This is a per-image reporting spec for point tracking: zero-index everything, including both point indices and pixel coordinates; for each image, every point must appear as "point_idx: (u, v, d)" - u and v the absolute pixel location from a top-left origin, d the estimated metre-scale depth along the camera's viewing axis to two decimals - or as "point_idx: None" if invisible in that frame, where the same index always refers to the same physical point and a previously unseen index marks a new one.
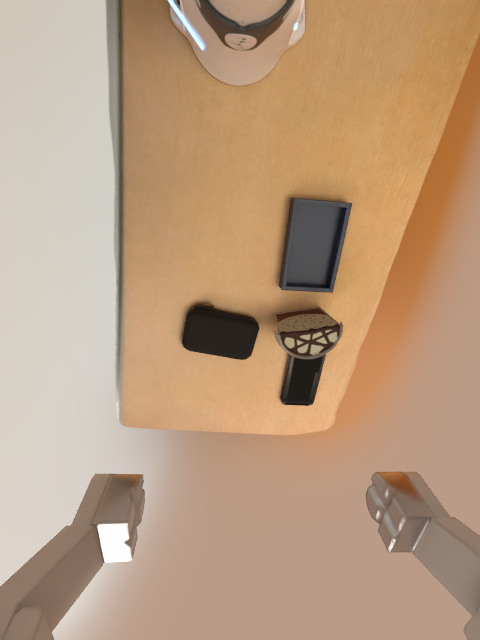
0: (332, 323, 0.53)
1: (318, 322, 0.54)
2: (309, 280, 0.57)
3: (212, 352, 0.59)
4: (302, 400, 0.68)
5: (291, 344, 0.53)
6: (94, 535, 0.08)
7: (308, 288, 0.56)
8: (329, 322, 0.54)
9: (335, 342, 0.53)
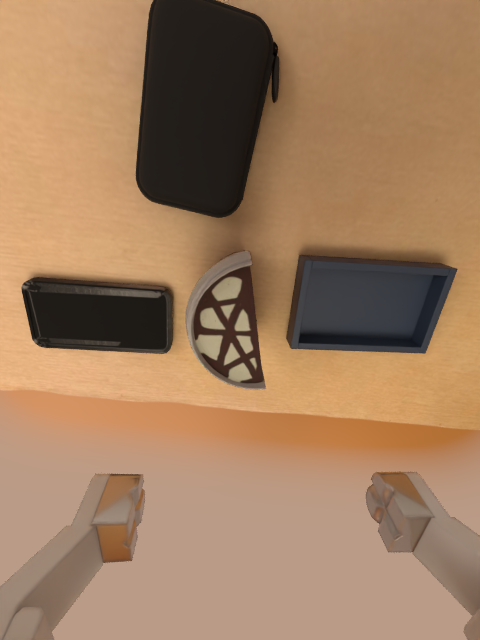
0: None
1: None
2: (306, 307, 0.33)
3: (154, 87, 0.22)
4: (43, 324, 0.32)
5: (222, 293, 0.23)
6: (94, 535, 0.08)
7: (302, 308, 0.31)
8: None
9: (229, 380, 0.26)
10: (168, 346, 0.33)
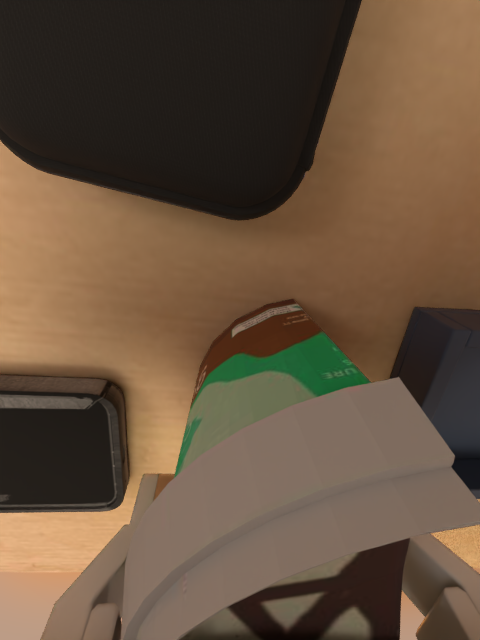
0: None
1: None
2: None
3: None
4: None
5: None
6: None
7: None
8: None
9: None
10: (117, 498, 0.15)
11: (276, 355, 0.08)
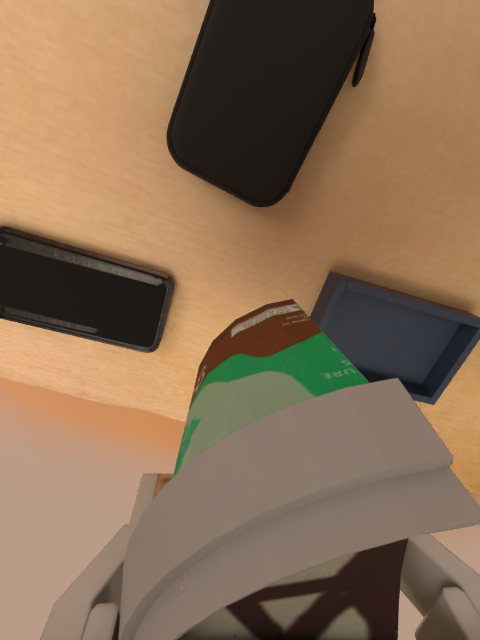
0: None
1: None
2: None
3: (221, 20, 0.17)
4: (1, 288, 0.24)
5: None
6: None
7: None
8: None
9: None
10: (155, 345, 0.28)
11: (275, 354, 0.08)
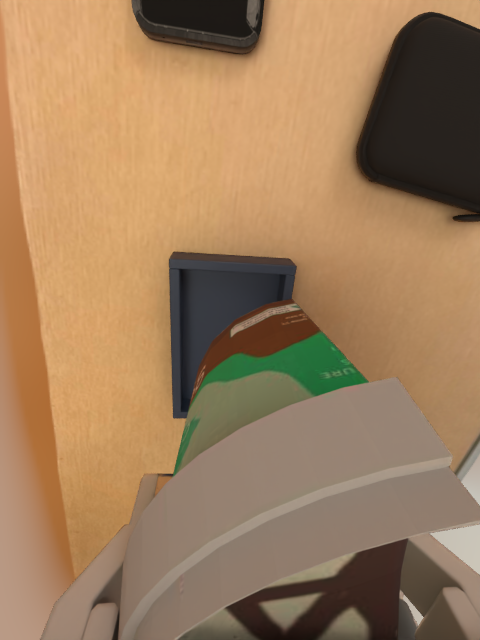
0: None
1: None
2: (223, 274, 0.25)
3: None
4: None
5: None
6: None
7: (232, 269, 0.23)
8: None
9: None
10: (149, 24, 0.18)
11: (274, 354, 0.08)
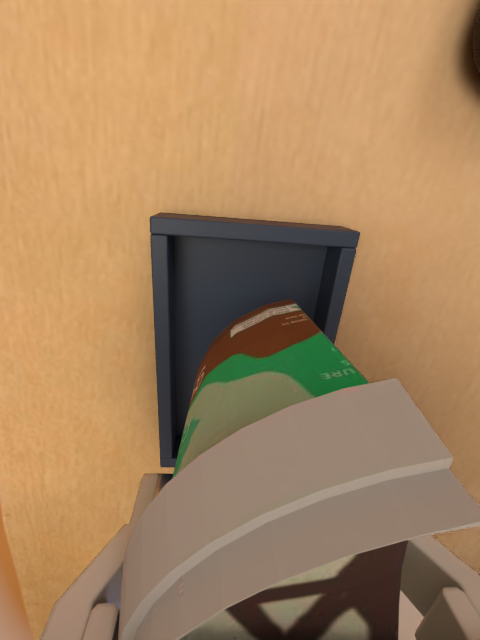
0: None
1: None
2: (238, 249, 0.16)
3: None
4: None
5: None
6: None
7: (255, 236, 0.14)
8: None
9: None
10: None
11: (274, 355, 0.08)
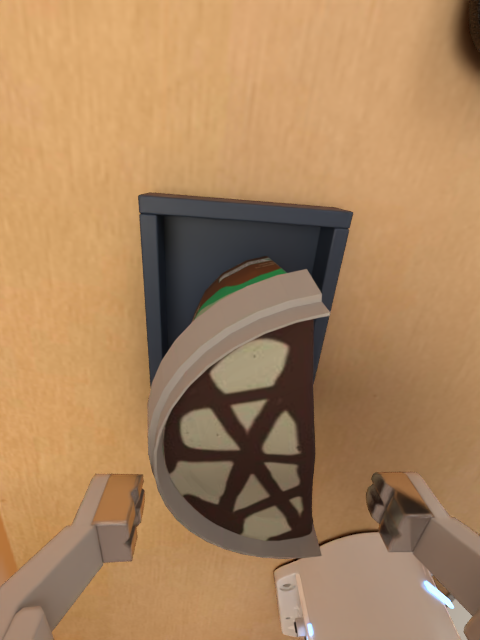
0: None
1: None
2: (230, 231, 0.16)
3: None
4: None
5: (238, 377, 0.09)
6: (94, 535, 0.08)
7: (246, 216, 0.14)
8: None
9: (245, 541, 0.12)
10: None
11: (247, 281, 0.12)
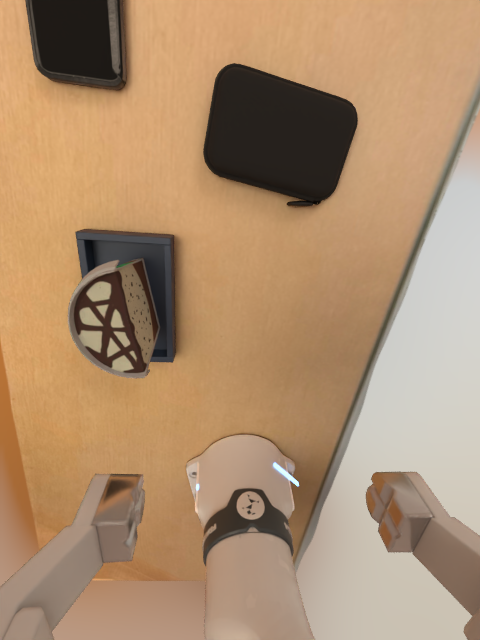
0: (146, 357, 0.32)
1: (143, 335, 0.32)
2: (123, 246, 0.34)
3: (302, 96, 0.27)
4: None
5: (96, 295, 0.27)
6: (94, 535, 0.08)
7: (123, 240, 0.32)
8: (146, 352, 0.32)
9: (112, 370, 0.30)
10: (47, 72, 0.27)
11: None
